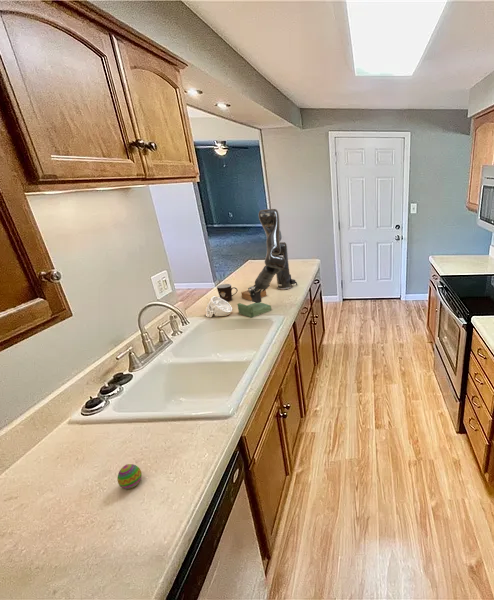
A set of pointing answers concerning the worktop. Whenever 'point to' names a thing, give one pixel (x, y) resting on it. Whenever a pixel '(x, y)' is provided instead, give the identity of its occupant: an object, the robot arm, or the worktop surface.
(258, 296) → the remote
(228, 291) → the coffee mug
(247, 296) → the brown wooden block
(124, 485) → the egg
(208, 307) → the skull bowl
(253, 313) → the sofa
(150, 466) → the worktop surface
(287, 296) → the worktop surface
